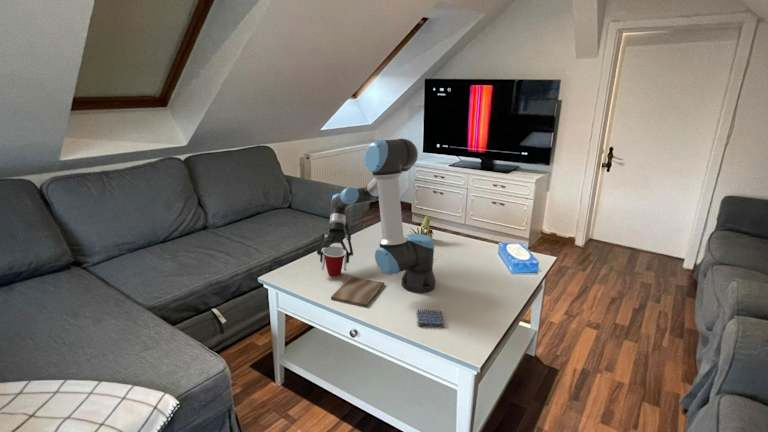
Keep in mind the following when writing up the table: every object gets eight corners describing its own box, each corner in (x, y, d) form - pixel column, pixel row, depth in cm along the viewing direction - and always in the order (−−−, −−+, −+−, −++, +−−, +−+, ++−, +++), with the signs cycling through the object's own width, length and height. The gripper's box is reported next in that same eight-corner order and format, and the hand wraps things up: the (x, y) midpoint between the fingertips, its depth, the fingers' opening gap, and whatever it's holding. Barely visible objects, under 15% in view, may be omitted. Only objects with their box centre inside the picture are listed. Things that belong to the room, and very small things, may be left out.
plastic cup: (342, 280, 186) (342, 256, 183) (319, 278, 188) (319, 254, 185) (349, 270, 197) (349, 247, 193) (327, 267, 199) (327, 244, 195)
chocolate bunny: (415, 243, 229) (417, 217, 225) (426, 237, 238) (427, 213, 233) (426, 246, 226) (427, 220, 221) (436, 240, 234) (438, 215, 229)
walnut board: (384, 284, 183) (384, 282, 183) (366, 307, 166) (366, 304, 165) (351, 278, 189) (351, 276, 188) (331, 299, 171) (330, 296, 171)
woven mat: (442, 313, 163) (442, 309, 162) (445, 329, 153) (445, 324, 152) (415, 312, 163) (416, 308, 163) (417, 328, 153) (417, 323, 152)
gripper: (360, 228, 201) (358, 272, 191) (315, 227, 202) (311, 271, 192) (360, 221, 195) (357, 267, 185) (313, 220, 195) (308, 265, 185)
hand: (333, 269), depth 188 cm, fingers closed on plastic cup, 9 cm apart
